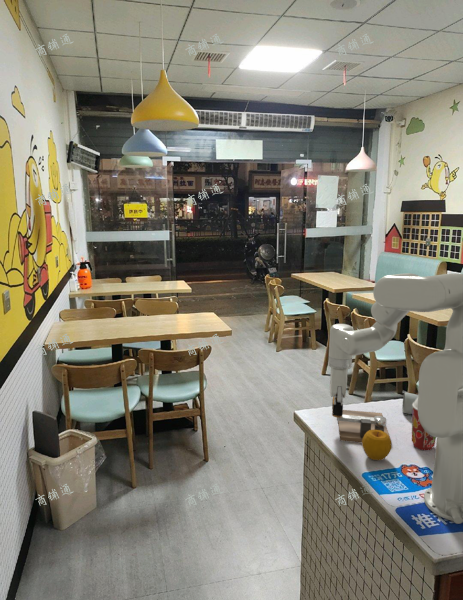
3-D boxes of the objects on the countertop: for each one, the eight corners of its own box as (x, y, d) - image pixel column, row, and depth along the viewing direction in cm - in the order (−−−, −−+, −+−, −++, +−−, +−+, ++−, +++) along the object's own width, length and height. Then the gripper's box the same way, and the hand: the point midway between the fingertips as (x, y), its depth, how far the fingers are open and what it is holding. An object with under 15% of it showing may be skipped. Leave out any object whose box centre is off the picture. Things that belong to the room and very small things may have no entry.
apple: (372, 468, 126) (374, 441, 124) (355, 453, 134) (356, 427, 132) (396, 463, 129) (398, 436, 127) (377, 448, 137) (379, 423, 135)
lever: (385, 422, 145) (387, 395, 143) (386, 427, 141) (388, 400, 139) (331, 416, 149) (333, 390, 147) (331, 422, 145) (333, 395, 143)
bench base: (391, 445, 139) (392, 425, 137) (340, 440, 141) (341, 421, 140) (381, 416, 158) (382, 399, 156) (336, 413, 161) (337, 395, 159)
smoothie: (440, 454, 133) (446, 394, 129) (411, 451, 135) (417, 392, 131) (433, 440, 141) (439, 383, 137) (406, 438, 143) (411, 381, 139)
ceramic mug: (427, 419, 156) (429, 399, 154) (402, 416, 158) (404, 396, 157) (423, 407, 166) (425, 388, 164) (401, 404, 168) (402, 386, 167)
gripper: (327, 352, 151) (325, 401, 154) (329, 369, 135) (326, 423, 139) (349, 354, 149) (346, 402, 153) (353, 371, 133) (350, 425, 137)
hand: (337, 412), depth 146 cm, fingers open, 3 cm apart
